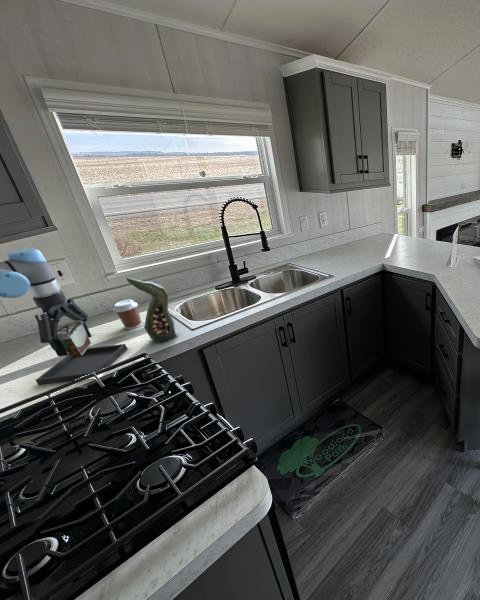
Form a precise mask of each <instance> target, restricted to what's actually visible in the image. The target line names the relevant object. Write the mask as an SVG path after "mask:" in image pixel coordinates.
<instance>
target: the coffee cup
mask: <svg viewBox="0 0 480 600" xmlns="http://www.w3.org/2000/svg"><path fill="white" fill-rule="evenodd" d="M138 305H139V304H138V302H137V301H134V300H133V299H125V300H120V301H118V302H115V304H114V305H113V306H114V307H113V308H112V311H113V312H114V313H116V314H117V316H118V318H119V320H120V321H121V323H122V325H123V326H124V329H126V330H132V329H136V328H138V327H141V326H142V324H143V322H142V319H141V316H140V313H139V308H138Z"/></svg>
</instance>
